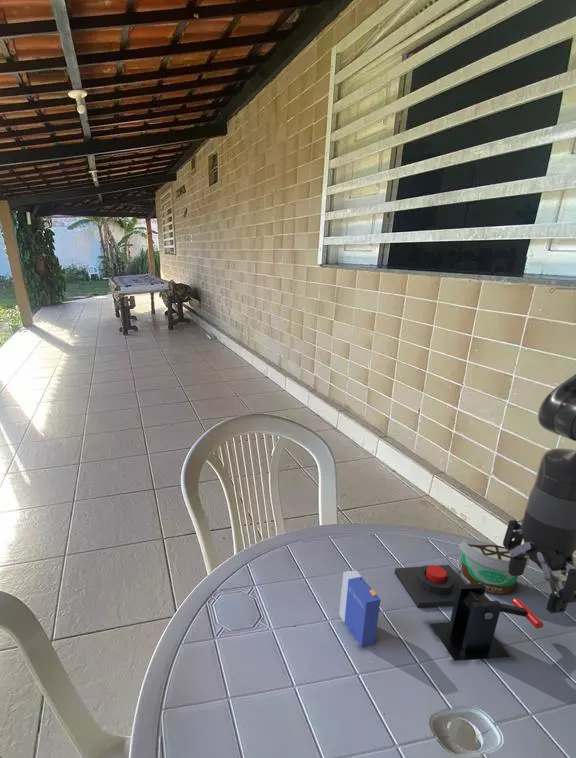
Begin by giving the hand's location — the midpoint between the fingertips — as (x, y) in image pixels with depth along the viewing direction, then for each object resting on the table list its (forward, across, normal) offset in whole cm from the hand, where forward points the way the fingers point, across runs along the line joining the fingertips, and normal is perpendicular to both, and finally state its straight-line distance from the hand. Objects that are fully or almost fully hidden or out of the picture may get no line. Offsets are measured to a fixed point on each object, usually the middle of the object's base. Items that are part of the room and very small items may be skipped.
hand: (533, 591), depth 73 cm
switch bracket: (+12, 0, +10) cm, 15 cm away
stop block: (+12, +13, +9) cm, 19 cm away
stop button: (+8, +13, +9) cm, 17 cm away
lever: (+4, 0, +5) cm, 7 cm away
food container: (+12, +12, -3) cm, 17 cm away
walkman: (+11, +4, +29) cm, 31 cm away
